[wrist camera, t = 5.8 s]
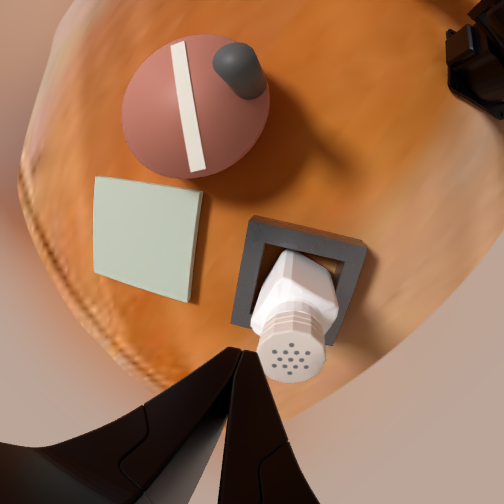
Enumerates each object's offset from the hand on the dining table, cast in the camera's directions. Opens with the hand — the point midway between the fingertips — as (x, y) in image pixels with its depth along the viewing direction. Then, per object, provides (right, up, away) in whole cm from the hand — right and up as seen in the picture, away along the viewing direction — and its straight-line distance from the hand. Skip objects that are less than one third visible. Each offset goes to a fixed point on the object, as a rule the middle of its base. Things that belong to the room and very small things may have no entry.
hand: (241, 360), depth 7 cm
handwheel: (-3, +13, +8) cm, 16 cm away
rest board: (-9, +5, +14) cm, 17 cm away
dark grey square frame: (+4, +1, +13) cm, 13 cm away
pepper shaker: (+4, +1, +13) cm, 14 cm away
